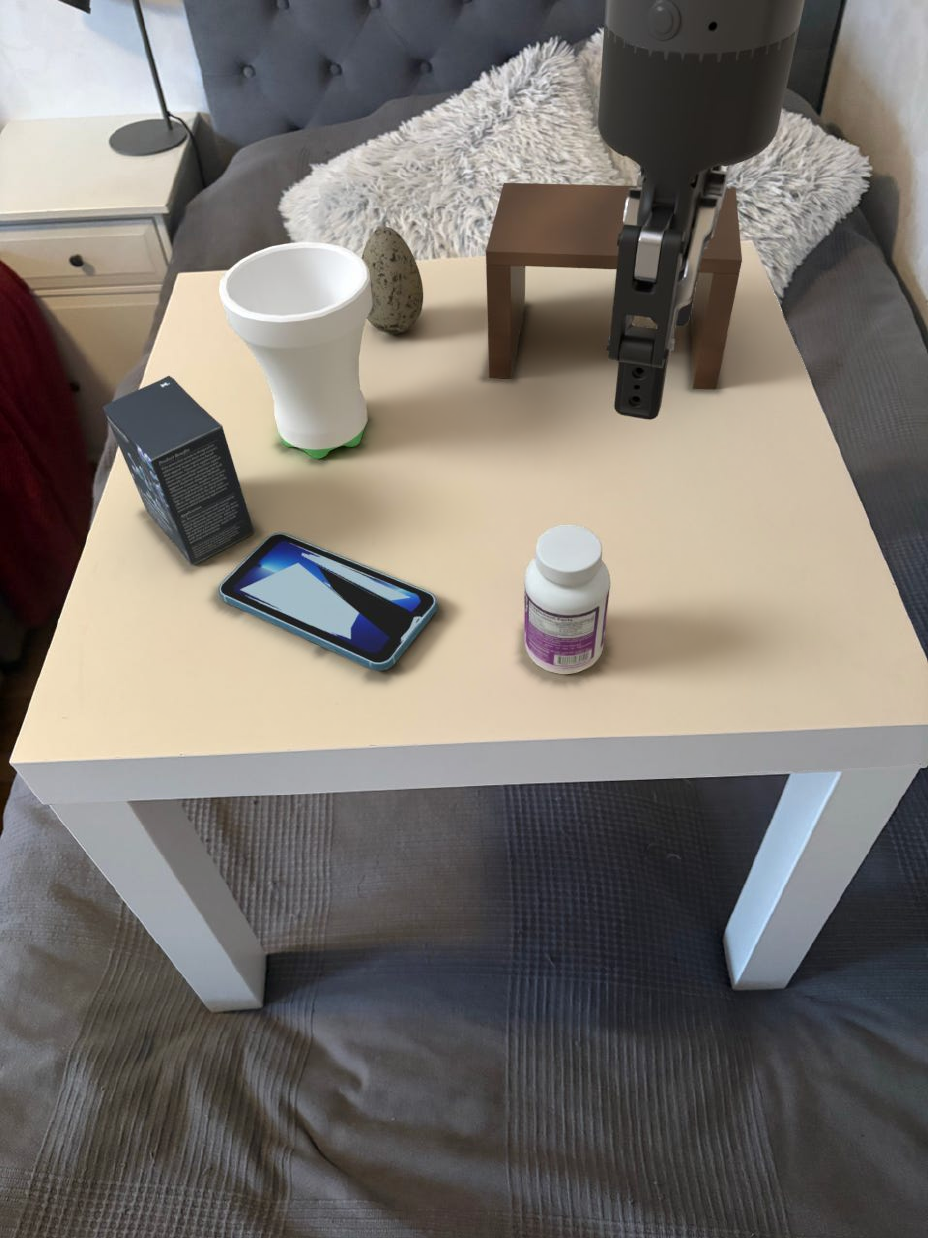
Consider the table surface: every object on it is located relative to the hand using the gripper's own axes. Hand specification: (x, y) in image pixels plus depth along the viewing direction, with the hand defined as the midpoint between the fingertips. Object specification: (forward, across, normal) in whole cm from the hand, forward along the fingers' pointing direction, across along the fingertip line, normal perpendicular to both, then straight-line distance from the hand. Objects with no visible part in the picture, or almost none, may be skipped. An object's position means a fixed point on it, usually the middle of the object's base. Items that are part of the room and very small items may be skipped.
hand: (653, 364), depth 48 cm
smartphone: (+21, -5, +20) cm, 29 cm away
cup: (+21, +13, +28) cm, 38 cm away
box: (+21, 0, +33) cm, 39 cm away
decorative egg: (+21, +29, +28) cm, 46 cm away
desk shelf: (+20, +32, +9) cm, 39 cm away
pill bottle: (+21, -4, +3) cm, 21 cm away
